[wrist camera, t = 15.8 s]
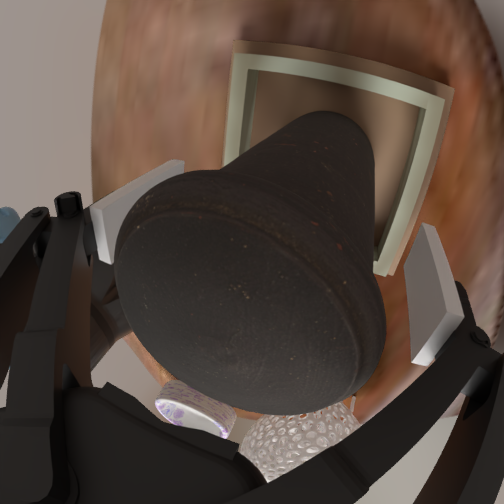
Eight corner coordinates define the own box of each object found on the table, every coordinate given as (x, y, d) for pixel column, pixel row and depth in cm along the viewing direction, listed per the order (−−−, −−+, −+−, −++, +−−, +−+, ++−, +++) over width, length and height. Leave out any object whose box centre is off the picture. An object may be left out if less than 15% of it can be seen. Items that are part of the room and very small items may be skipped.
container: (271, 200, 27) (134, 384, 11) (275, 101, 22) (59, 182, 6) (366, 218, 25) (334, 453, 9) (383, 116, 20) (453, 248, 4)
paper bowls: (256, 414, 54) (241, 447, 47) (199, 408, 61) (184, 435, 55) (216, 367, 48) (196, 404, 42) (159, 365, 56) (139, 394, 50)
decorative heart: (391, 387, 37) (374, 497, 24) (365, 418, 43) (345, 508, 30) (274, 357, 41) (228, 463, 28) (266, 392, 47) (228, 479, 34)
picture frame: (224, 217, 32) (206, 236, 29) (240, 41, 21) (220, 36, 18) (392, 266, 28) (393, 291, 25) (449, 88, 17) (464, 89, 14)
